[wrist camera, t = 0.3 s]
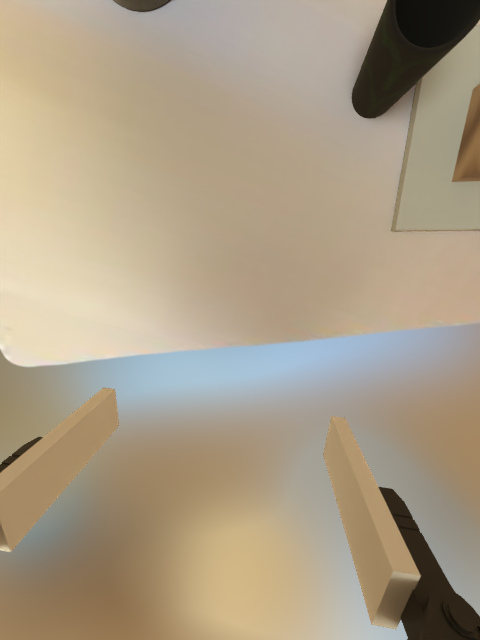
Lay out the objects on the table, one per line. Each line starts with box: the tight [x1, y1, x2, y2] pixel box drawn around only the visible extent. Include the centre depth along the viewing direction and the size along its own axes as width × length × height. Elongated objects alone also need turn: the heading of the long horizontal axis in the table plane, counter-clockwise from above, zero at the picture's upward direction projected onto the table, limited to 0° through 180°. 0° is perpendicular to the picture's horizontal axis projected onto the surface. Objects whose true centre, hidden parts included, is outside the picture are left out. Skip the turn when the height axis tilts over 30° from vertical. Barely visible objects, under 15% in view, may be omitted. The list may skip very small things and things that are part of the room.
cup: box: [352, 0, 480, 118], centre depth 24 cm, size 8×8×12 cm
